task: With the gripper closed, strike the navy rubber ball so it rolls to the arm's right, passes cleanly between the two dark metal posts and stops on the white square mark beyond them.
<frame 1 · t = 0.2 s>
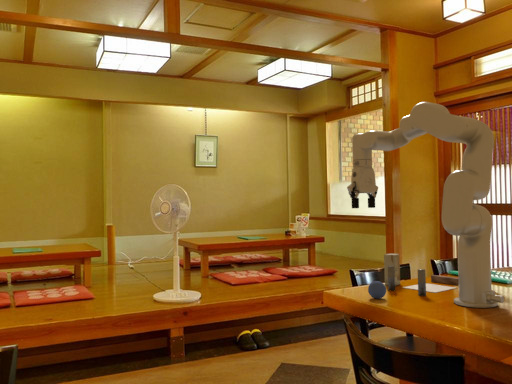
hand: (363, 207, 186), 31 cm above the table, tool pointing down, fingers open, 9 cm apart
near post: (422, 295, 165), on the table
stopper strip: (450, 283, 187), on the table
ball: (377, 289, 161), on the table
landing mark: (429, 288, 178), on the table
skincare box: (392, 285, 187), on the table
far post: (391, 290, 176), on the table
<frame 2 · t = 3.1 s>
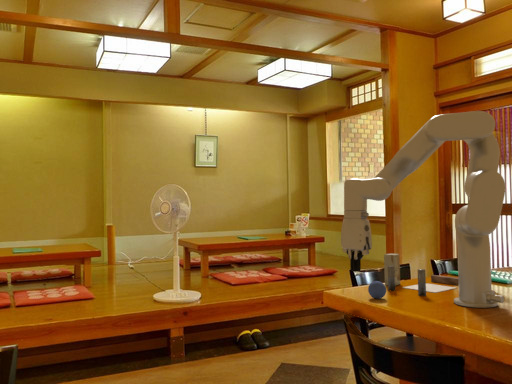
hand: (355, 271, 156), 10 cm above the table, tool pointing down, fingers closed
nothing on the table moved.
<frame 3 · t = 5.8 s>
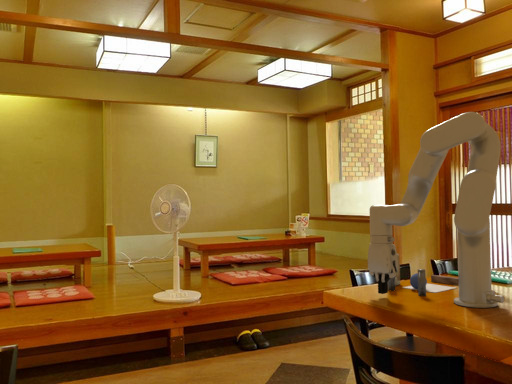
hand: (382, 293, 163), 2 cm above the table, tool pointing down, fingers closed
ball: (418, 281, 176), on the table
everything else where it was.
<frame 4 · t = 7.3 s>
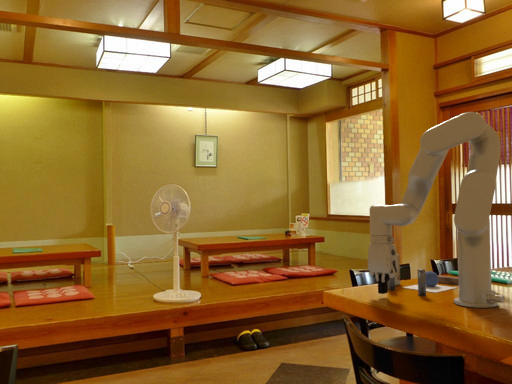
hand: (382, 293, 163), 2 cm above the table, tool pointing down, fingers closed
ball: (430, 279, 181), on the table
everything else where it was.
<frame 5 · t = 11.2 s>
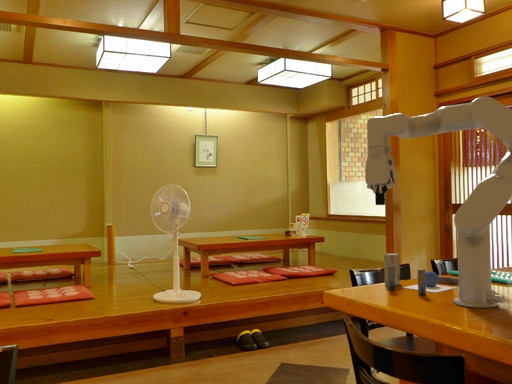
hand: (380, 204, 164), 32 cm above the table, tool pointing down, fingers closed
nothing on the table moved.
at the end: ball 2.7 cm from the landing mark (horizontally); ball never touched near post; ball never touched far post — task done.
